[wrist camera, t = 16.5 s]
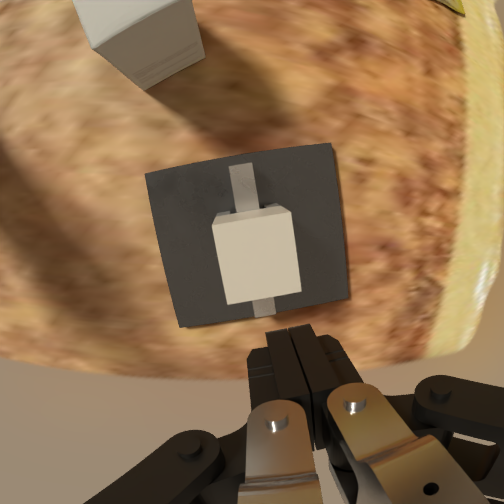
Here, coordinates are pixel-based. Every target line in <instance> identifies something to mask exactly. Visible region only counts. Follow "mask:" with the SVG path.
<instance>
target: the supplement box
mask: <svg viewBox="0 0 504 504" xmlns="http://www.w3.org/2000/svg"><path fill="white" fill-rule="evenodd" d="M72 1H73V4H74V6H75V9H76V11H77V14H78V17H79V19H80V22H81V24H82V27H83V29H84V32H85V34H86V37H87V39H88V42H89V44H90V47H91V49H92V50H94V51H95V52H97V53H98V54H100V55H101V56H102V57H104V58H105V59H106V60H107V61H108V62H110V63H111V64H112V65H113V66H114V67H116V68H117V69H118V70H119V71H120V72H121V73H123V74H124V75H125V76H126V77H127V78H128V79H130V80H131V81H132V82H133V83H135V84H136V85H137V86H138V87H139V88H141V89H142V90H143V91H145V90H147V89H148V88H150V87H152V86H153V85H155V84H157V83H159V82H160V81H162V80H164V79H166V78H168V77H169V76H171V75H173V74H175V73H177V72H178V71H180V70H182V69H184V68H186V67H188V66H190V65H192V64H194V63H196V62H198V61H200V60H202V59H204V58H205V57H206V56H205V52H204V48H203V44H202V40H201V36H200V32H199V28H198V24H197V20H196V16H195V12H194V8H193V4H192V0H72Z"/></svg>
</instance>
